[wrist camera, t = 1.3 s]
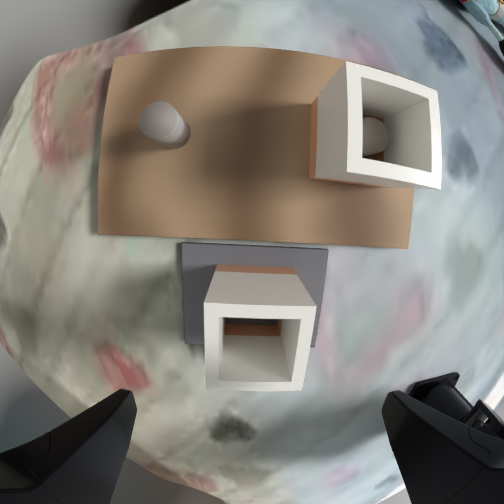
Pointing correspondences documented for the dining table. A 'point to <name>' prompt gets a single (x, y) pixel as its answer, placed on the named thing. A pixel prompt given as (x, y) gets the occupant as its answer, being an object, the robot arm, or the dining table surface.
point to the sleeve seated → (395, 120)
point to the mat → (210, 254)
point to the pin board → (233, 152)
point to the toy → (487, 15)
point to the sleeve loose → (257, 329)
